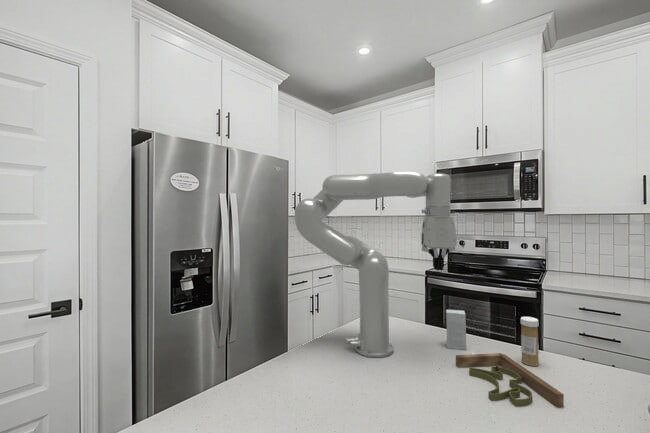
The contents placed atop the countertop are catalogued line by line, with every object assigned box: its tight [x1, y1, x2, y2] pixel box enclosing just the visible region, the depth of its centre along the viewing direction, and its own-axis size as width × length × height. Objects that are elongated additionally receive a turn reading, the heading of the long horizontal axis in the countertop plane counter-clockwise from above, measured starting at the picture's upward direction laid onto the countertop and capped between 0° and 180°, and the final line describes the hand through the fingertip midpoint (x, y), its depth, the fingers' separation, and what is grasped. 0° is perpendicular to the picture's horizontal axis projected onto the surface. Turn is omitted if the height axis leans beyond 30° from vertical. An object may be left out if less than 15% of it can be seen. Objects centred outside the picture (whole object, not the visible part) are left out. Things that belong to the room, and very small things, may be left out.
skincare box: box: [445, 309, 467, 351], centre depth 111 cm, size 6×4×12 cm
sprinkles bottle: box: [520, 316, 540, 367], centre depth 98 cm, size 5×5×13 cm
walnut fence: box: [455, 352, 565, 408], centre depth 86 cm, size 15×23×3 cm, turn 4°
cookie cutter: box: [468, 365, 533, 408], centre depth 85 cm, size 18×12×2 cm, turn 177°
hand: (438, 269), depth 105 cm, fingers closed
